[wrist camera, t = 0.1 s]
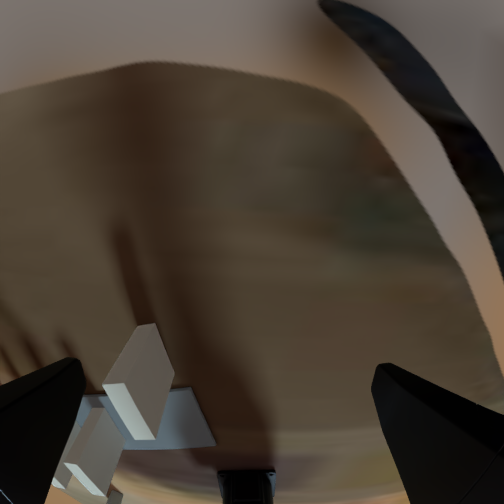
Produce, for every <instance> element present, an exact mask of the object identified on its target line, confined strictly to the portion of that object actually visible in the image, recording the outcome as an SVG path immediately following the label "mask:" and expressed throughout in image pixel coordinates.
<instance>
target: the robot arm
mask: <svg viewBox="0 0 504 504" xmlns="http://www.w3.org/2000/svg"><path fill="white" fill-rule="evenodd" d="M85 389H86V378H85V375H84V371H83V368H82V364H81V362H80V360H79V359H77V358H71V357H66V358H64V359H62V360H59V361H57V362H55V363H52V364H50V365H48V366H46V367H43V368H41V369H39V370H36V371H34V372H32V373H29V374H27V375H25V376H22V377H20V378H18V379H15V380H13V381H10V382H8V383H6V384H3V385H1V386H0V504H44V503H45V500H46V497H47V494H48V492H49V489H50V485H51V483H52V480H53V478H54V475H55V472H56V469H57V467H58V464H59V462H60V459H61V456H62V454H63V451H64V449H65V446H66V444H67V441H68V439H69V436H70V434H71V432H72V429H73V427H74V424H75V421H76V418H77V415H78V411H79V408H80V405H81V401H82V398H83V395H84V392H85ZM371 392H372V396H373V399H374V403H375V406H376V410H377V413H378V417H379V421H380V424H381V428H382V431H383V434H384V436H385V439H386V441H387V444H388V446H389V449H390V451H391V454H392V456H393V459H394V461H395V464H396V467H397V469H398V472H399V474H400V477H401V480H402V482H403V485H404V488H405V490H406V493H407V496H408V498H409V501H410V504H504V415H502V414H500V413H497V412H495V411H492V410H490V409H488V408H485V407H483V406H481V405H479V404H477V405H476V403H474V402H472V401H470V400H468V399H466V398H463V397H461V396H459V395H457V394H455V393H453V392H450V391H448V390H446V389H444V388H442V387H440V386H438V385H436V384H433V383H431V382H429V381H427V380H425V379H423V378H421V377H419V376H417V375H415V374H413V373H411V372H409V371H406V370H404V369H402V368H400V367H398V366H396V365H394V364H392V363H383V364H379V365H378V366H377V367H376V370H375V374H374V378H373V382H372V386H371ZM275 480H276V472H275V470H259V471H219V472H218V481H219V486H220V491H221V496H222V498H223V504H273V497H274V493H275Z"/></svg>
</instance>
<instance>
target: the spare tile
mask: <svg viewBox="0 0 504 504" xmlns="http://www.w3.org/2000/svg"><path fill="white" fill-rule="evenodd" d="M174 374H175V372H174V370H173V368H172V365H171V363H170V360H169V358H168V355H167V353H166V350H165V348H164V345H163V342H162V340H161V337H160V335H159V332H158V329H157V327H156V324H155V323H152V324H146V325H140V326H137V328H136V329H135V331H134V332H133V334H132V336H131V337H130V339H129V340H128V342H127V344H126V345H125V347H124V349H123V350H122V352H121V354H120V355H119V357H118V358H117V360H116V362H115V363H114V365H113V367H112V368H111V370H110V372H109V373H108V375H107V377H106V379H105V380H104V382H103V384H102V386H103V387H104V389H105V391H106V393H107V395H108V397H109V398H110V400H111V402H112V404H113V405H114V407H115V409H116V411H117V412H118V414H119V416H120V417H121V419H122V420H123V422H124V424H125V425H126V427H127V429H128V430H129V432H130V433H131V435H132V436H133V438H134V439H135V440H156V437H157V433H158V430H159V426H160V422H161V419H162V415H163V412H164V408H165V405H166V401H167V398H168V395H169V391H170V388H171V384H172V381H173V378H174Z"/></svg>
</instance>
